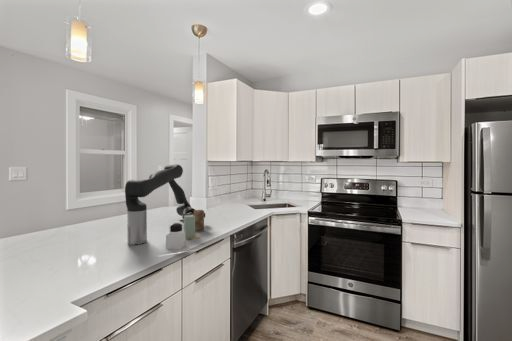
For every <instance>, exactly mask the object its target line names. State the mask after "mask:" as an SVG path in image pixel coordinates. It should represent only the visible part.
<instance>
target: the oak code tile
mask: <svg viewBox="0 0 512 341" xmlns="http://www.w3.org/2000/svg"><path fill="white" fill-rule="evenodd" d="M199 239H200V240H201V237H200V236H199V235H198V233H195V238H190V239H186V238H185V242H186V241H192V240H199Z"/></svg>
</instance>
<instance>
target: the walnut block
mask: <svg viewBox="0 0 512 341" xmlns="http://www.w3.org/2000/svg"><path fill="white" fill-rule="evenodd" d="M204 213H205V211H204V210H203V209H195V210H194V216H195V231H203V230H204V227H205V218H204Z"/></svg>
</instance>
